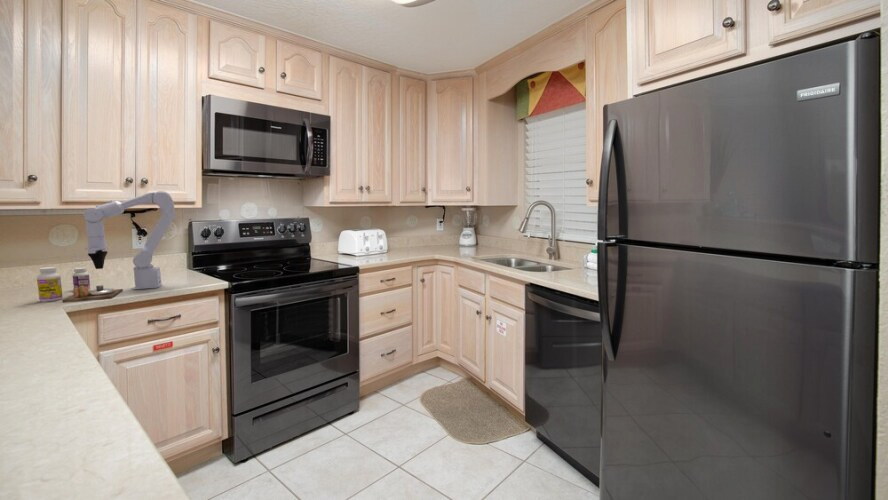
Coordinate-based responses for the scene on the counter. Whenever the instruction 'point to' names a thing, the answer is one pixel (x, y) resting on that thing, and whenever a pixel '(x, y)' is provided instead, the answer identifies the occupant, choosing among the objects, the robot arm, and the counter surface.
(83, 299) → the brown piece
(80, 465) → the counter surface
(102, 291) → the pot lid
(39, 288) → the supplement bottle
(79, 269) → the pill bottle
